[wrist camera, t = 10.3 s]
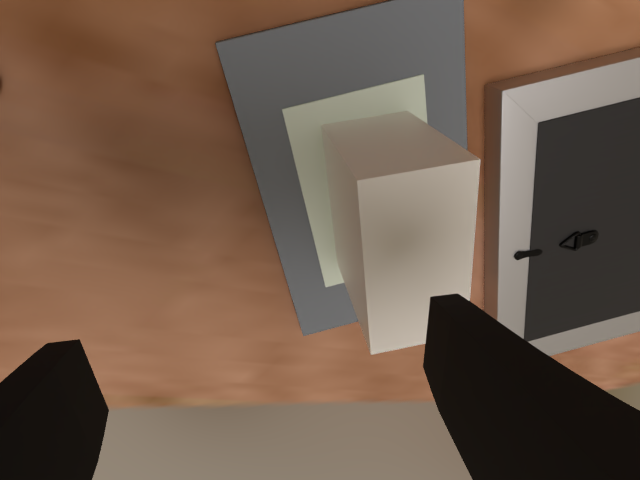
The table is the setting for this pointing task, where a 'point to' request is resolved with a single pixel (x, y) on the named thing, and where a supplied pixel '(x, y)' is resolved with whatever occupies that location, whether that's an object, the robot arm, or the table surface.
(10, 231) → the table surface
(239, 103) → the mat
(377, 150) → the beige rectangular block
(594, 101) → the picture frame
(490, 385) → the robot arm
